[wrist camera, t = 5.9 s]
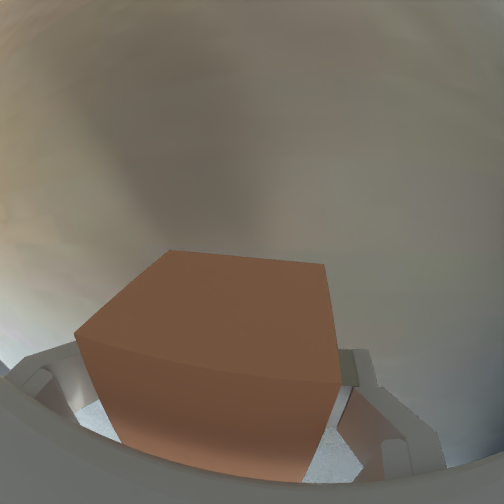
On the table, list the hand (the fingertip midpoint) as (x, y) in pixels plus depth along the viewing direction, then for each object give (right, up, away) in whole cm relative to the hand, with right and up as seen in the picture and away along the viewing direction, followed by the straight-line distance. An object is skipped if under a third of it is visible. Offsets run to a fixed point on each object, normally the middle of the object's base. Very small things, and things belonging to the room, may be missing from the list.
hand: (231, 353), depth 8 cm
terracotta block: (0, +1, +2) cm, 2 cm away
